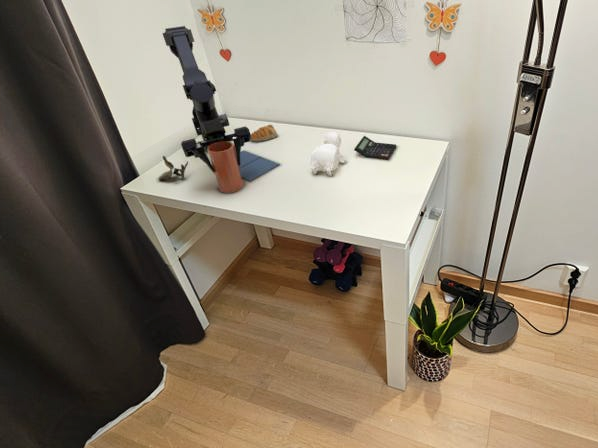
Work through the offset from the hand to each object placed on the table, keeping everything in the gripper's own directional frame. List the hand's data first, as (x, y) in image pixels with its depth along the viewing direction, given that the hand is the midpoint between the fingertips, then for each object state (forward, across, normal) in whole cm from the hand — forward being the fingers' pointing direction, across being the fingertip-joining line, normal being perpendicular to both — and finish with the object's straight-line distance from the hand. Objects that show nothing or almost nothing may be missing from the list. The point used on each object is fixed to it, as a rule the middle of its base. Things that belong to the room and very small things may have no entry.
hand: (226, 168), depth 113 cm
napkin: (-4, +7, +13) cm, 16 cm away
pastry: (-16, +18, +26) cm, 35 cm away
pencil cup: (+4, 0, +6) cm, 7 cm away
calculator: (+6, +47, +4) cm, 47 cm away
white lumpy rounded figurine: (+6, +30, +3) cm, 31 cm away
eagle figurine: (-7, -15, +17) cm, 24 cm away
